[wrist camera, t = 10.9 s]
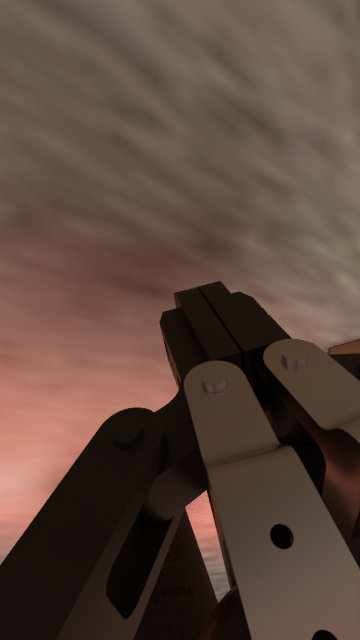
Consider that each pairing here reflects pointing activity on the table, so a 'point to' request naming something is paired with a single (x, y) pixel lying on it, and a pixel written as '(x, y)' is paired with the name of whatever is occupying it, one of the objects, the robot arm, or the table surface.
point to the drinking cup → (179, 592)
